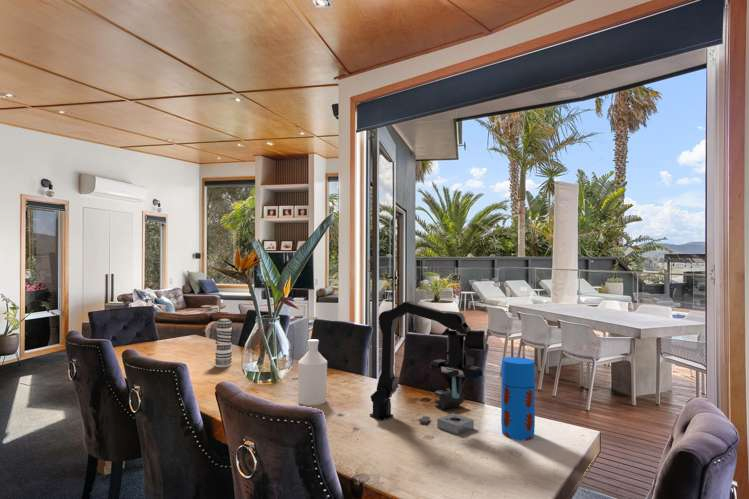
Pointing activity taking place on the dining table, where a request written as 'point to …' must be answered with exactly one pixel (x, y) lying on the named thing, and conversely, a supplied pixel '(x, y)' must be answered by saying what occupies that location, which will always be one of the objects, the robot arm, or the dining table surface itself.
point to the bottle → (312, 376)
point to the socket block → (455, 423)
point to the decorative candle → (223, 343)
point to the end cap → (448, 399)
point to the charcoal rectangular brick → (424, 420)
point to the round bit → (454, 388)
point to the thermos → (518, 398)
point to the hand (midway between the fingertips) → (455, 392)
